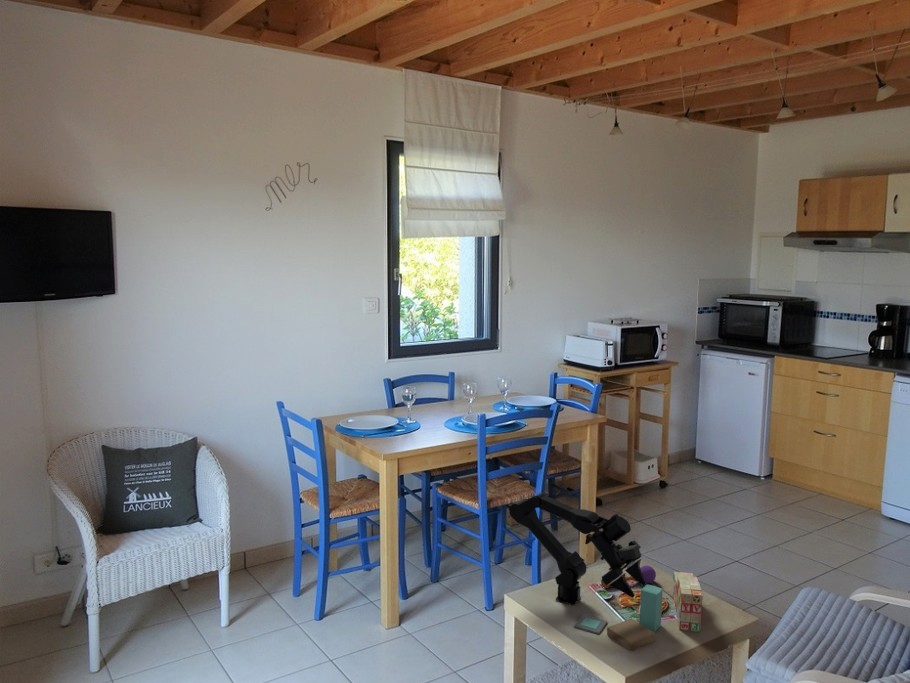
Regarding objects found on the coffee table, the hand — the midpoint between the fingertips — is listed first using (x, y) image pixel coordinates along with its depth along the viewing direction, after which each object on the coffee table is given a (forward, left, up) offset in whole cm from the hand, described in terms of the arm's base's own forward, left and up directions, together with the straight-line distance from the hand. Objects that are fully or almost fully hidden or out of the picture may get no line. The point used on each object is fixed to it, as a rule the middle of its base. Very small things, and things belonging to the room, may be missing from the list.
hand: (639, 590), depth 225 cm
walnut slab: (+1, -10, -11) cm, 15 cm away
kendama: (-10, +23, -11) cm, 28 cm away
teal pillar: (+4, 0, -10) cm, 11 cm away
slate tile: (-12, -9, -10) cm, 18 cm away
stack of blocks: (+12, +13, -11) cm, 21 cm away
